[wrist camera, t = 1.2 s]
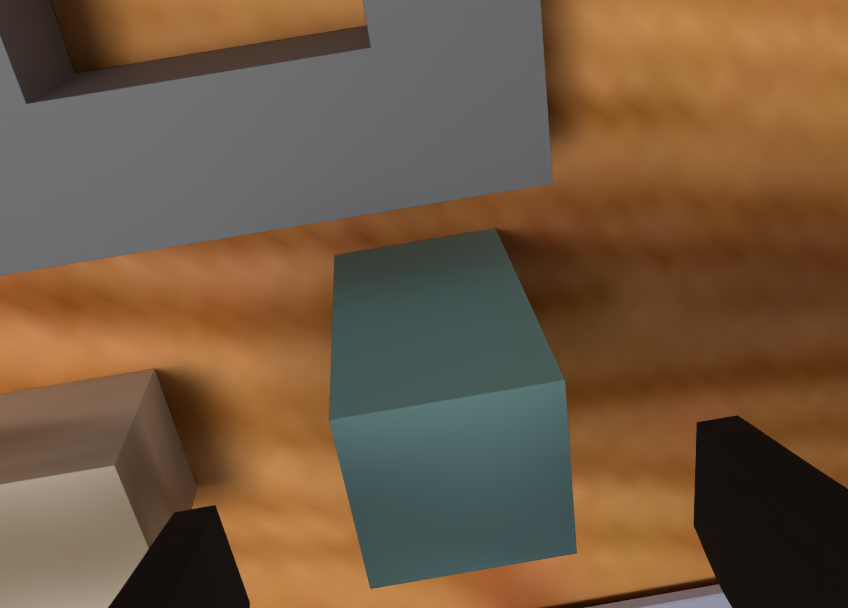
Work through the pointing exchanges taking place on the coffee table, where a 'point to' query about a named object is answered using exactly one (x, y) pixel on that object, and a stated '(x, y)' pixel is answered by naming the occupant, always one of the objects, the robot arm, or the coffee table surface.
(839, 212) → the coffee table surface
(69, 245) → the hole board
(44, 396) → the beige cube
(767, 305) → the coffee table surface
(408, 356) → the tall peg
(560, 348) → the coffee table surface
